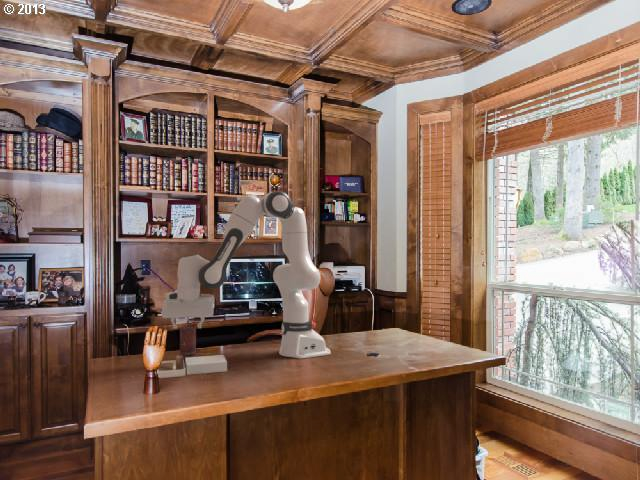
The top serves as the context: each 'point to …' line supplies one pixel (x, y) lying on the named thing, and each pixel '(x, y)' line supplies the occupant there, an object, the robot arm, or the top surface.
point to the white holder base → (205, 364)
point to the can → (188, 341)
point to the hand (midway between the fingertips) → (187, 328)
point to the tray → (172, 371)
